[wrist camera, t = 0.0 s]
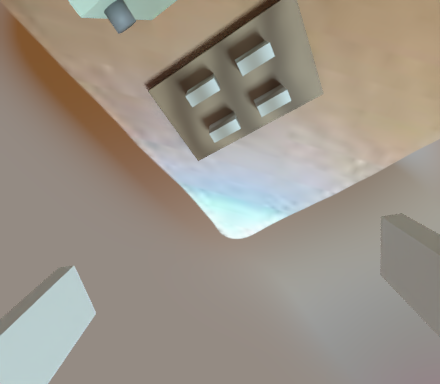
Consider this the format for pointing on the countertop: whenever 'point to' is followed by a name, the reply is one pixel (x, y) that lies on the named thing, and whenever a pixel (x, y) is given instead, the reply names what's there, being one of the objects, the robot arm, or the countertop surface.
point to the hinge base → (241, 81)
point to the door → (121, 10)
